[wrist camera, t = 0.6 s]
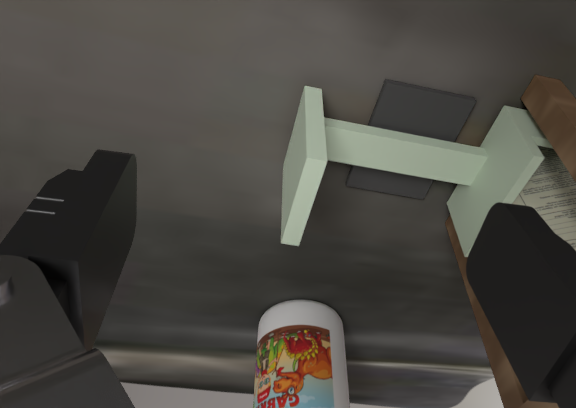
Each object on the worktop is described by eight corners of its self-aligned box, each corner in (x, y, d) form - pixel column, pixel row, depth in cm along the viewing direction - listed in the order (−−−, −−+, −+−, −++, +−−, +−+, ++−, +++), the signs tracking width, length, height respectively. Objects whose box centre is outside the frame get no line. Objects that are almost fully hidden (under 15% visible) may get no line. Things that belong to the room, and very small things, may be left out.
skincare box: (482, 198, 35) (547, 354, 26) (483, 150, 32) (557, 305, 23) (579, 182, 34) (683, 338, 25) (589, 130, 31) (710, 286, 22)
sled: (308, 65, 28) (312, 139, 22) (634, 132, 31) (706, 213, 25) (280, 174, 33) (277, 255, 28) (559, 222, 36) (605, 305, 31)
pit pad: (385, 79, 29) (386, 82, 28) (474, 97, 29) (476, 101, 29) (345, 182, 34) (346, 185, 34) (422, 195, 35) (423, 199, 34)
